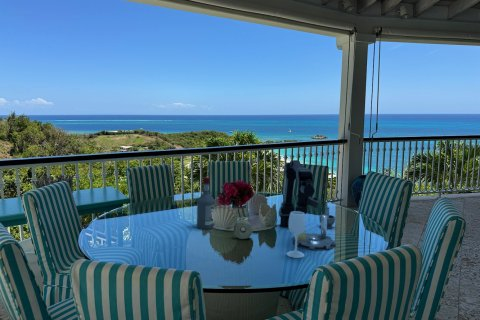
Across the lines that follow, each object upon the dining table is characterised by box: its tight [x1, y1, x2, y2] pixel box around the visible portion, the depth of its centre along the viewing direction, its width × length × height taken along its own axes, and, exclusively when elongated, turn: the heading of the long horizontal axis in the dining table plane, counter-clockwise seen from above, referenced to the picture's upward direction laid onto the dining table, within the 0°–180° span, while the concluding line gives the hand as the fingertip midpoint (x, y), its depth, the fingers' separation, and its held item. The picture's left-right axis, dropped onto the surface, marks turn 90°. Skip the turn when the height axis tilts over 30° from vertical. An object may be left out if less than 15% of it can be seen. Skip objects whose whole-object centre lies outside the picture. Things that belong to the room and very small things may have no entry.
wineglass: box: [286, 211, 306, 259], centre depth 183 cm, size 9×9×21 cm
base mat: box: [291, 240, 336, 252], centre depth 203 cm, size 22×22×1 cm
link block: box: [297, 230, 307, 240], centre depth 201 cm, size 5×4×4 cm
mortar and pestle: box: [318, 206, 336, 230], centre depth 235 cm, size 11×9×12 cm
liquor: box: [196, 176, 216, 230], centre depth 225 cm, size 9×9×30 cm
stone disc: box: [233, 219, 254, 240], centre depth 207 cm, size 10×4×10 cm, turn 86°
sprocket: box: [291, 214, 336, 250], centre depth 202 cm, size 23×23×14 cm
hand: (301, 221), depth 200 cm, fingers open, 8 cm apart
